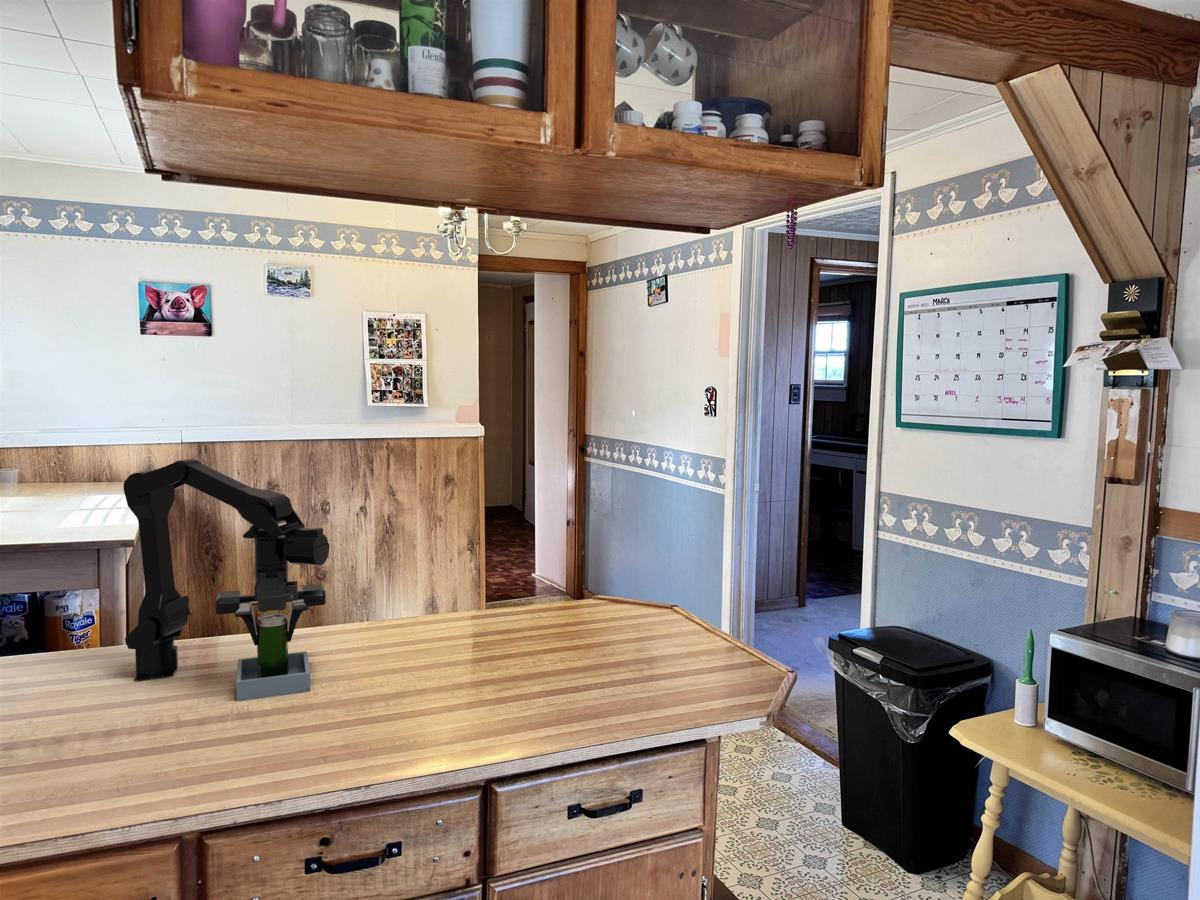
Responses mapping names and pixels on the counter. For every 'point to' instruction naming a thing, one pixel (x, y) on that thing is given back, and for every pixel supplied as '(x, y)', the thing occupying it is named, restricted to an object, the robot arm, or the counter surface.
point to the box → (272, 678)
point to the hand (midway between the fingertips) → (272, 643)
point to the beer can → (272, 645)
